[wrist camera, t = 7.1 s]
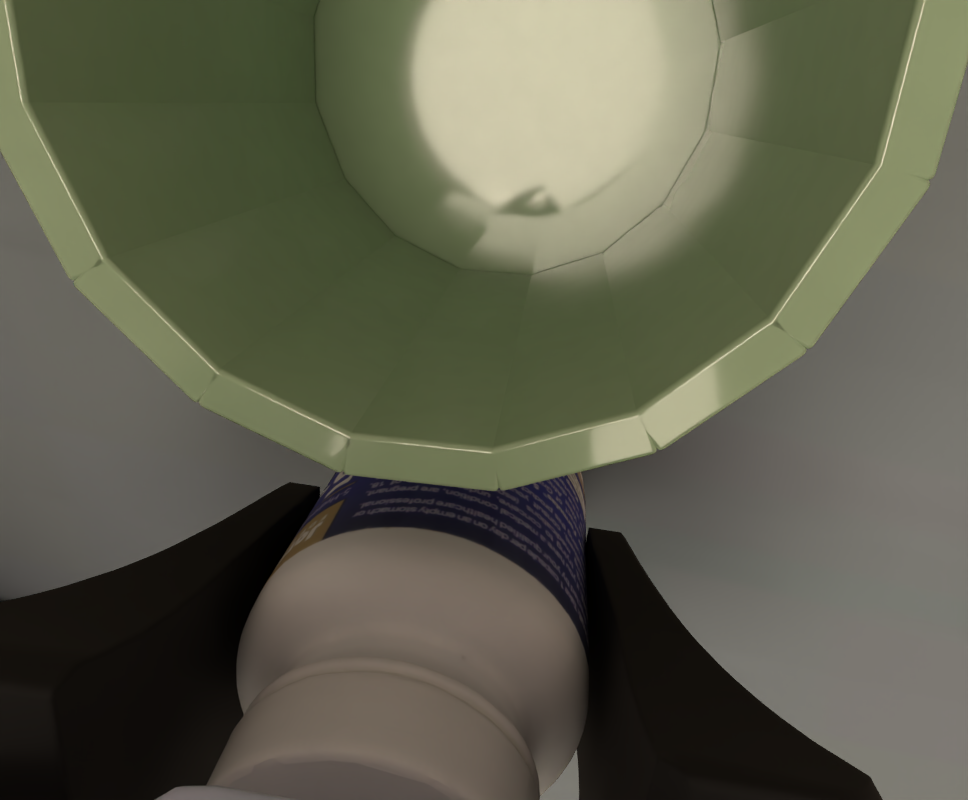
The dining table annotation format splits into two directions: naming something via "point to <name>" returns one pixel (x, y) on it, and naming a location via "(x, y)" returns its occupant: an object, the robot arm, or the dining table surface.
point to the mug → (474, 205)
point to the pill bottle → (418, 647)
